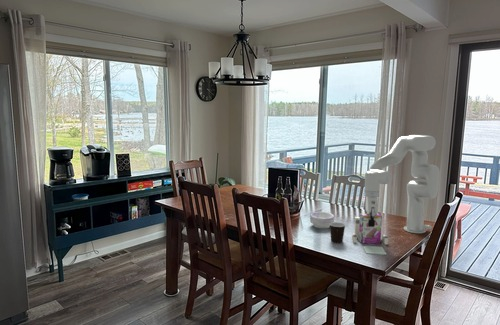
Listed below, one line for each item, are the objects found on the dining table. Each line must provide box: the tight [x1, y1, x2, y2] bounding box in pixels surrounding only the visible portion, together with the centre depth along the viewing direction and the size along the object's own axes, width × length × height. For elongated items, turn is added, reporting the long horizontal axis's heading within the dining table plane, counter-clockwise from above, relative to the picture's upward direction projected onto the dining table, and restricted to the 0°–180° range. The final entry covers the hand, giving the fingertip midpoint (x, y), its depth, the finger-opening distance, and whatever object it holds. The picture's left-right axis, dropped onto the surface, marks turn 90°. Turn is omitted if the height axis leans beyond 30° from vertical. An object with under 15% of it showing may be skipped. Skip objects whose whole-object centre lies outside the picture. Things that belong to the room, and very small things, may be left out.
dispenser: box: [351, 216, 389, 245], centre depth 195 cm, size 18×12×12 cm, turn 82°
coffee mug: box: [329, 221, 346, 244], centre depth 192 cm, size 12×9×10 cm
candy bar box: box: [358, 213, 383, 245], centre depth 191 cm, size 11×5×16 cm, turn 94°
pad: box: [362, 245, 387, 256], centre depth 180 cm, size 10×10×1 cm
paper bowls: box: [309, 211, 335, 230], centre depth 221 cm, size 15×15×8 cm
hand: (370, 224), depth 191 cm, fingers closed on candy bar box, 5 cm apart
